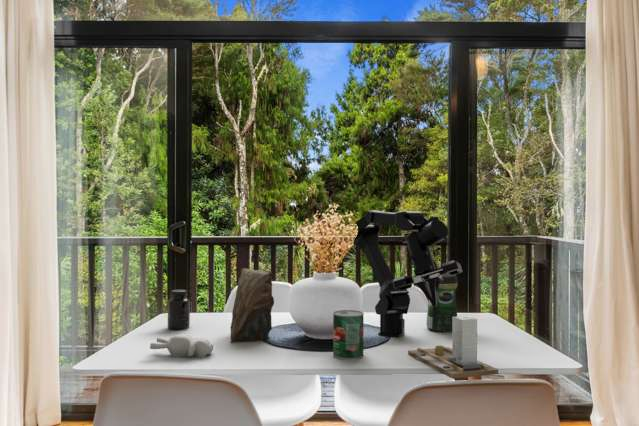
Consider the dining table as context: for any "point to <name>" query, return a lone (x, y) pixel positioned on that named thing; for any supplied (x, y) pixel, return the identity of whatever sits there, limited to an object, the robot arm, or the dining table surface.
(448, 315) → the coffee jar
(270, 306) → the tall brown stone
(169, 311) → the supplement bottle
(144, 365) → the dining table surface
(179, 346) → the bunny figurine
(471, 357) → the grey rectangular block
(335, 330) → the canned tomato
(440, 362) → the trammel board
